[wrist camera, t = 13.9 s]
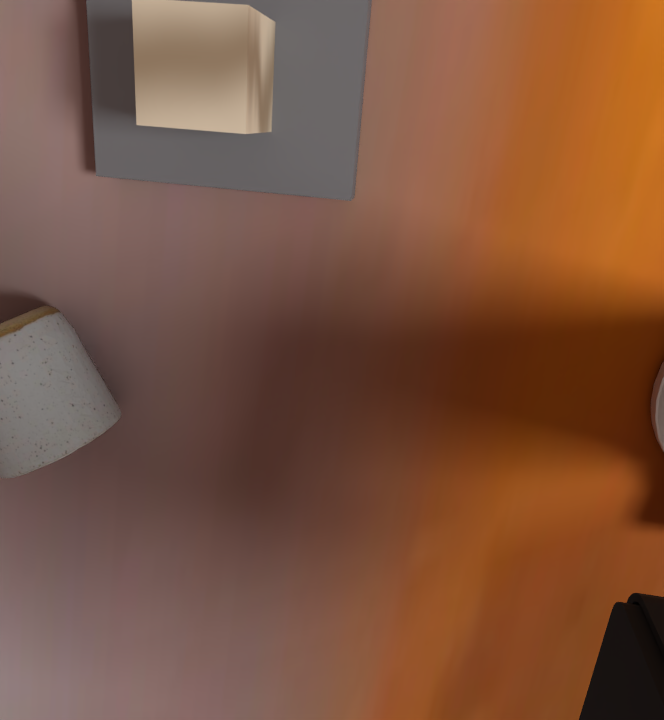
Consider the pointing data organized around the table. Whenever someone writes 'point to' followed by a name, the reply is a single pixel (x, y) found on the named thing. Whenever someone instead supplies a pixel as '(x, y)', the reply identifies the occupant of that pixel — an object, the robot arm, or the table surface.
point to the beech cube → (203, 66)
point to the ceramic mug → (47, 393)
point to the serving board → (233, 150)
